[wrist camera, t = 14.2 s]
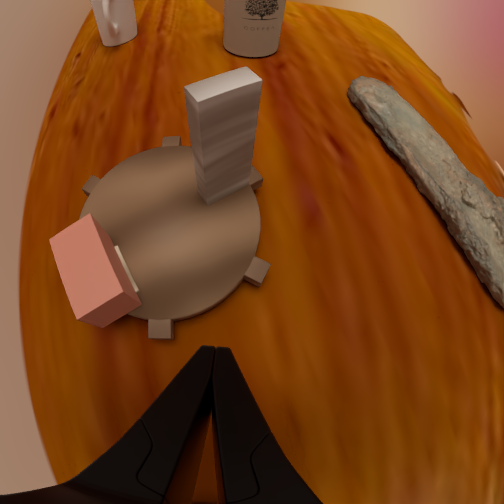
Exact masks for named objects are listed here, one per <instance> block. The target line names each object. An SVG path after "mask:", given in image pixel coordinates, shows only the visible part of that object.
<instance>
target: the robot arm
mask: <svg viewBox="0 0 504 504" xmlns="http://www.w3.org/2000/svg"><path fill="white" fill-rule="evenodd" d="M211 409H212V431H213V445H214V458H215V469H216V480H217V490H218V500H219V504H323V503H322V502H321V501H320V500H319V498H318V497H317V496H316V495H315V494H314V492H313V491H312V490H311V489H310V488H309V486H308V485H307V484H306V483H305V481H304V480H303V479H302V478H301V476H300V475H299V474H298V473H297V471H296V470H295V469H294V467H293V466H292V465H291V463H290V462H289V460H288V459H287V458H286V456H285V454H284V453H283V451H282V449H281V448H280V446H279V444H278V443H277V441H276V439H275V437H274V435H273V433H272V432H271V430H270V428H269V426H268V424H267V422H266V420H265V418H264V416H263V414H262V413H261V411H260V409H259V407H258V405H257V403H256V401H255V399H254V397H253V395H252V393H251V391H250V389H249V387H248V385H247V383H246V381H245V378H244V376H243V374H242V372H241V370H240V368H239V366H238V364H237V362H236V360H235V358H234V355H233V353H232V351H231V349H230V348H228V347H216V348H215V347H214V346H207V345H202V346H201V347H200V348H199V349H198V350H197V351H196V353H195V354H194V355H193V356H192V357H191V359H190V360H189V361H188V362H187V363H186V364H185V366H184V367H183V368H182V369H181V370H180V372H179V373H178V374H177V375H176V376H175V377H174V379H173V380H172V381H171V382H170V383H169V384H168V386H167V387H166V388H165V389H164V390H163V391H162V393H161V394H160V395H159V396H158V397H157V398H156V400H155V401H154V402H153V403H152V404H151V405H150V407H149V408H148V409H147V410H146V411H145V412H144V413H143V415H142V416H141V417H140V418H141V419H138V420H137V421H136V422H135V424H134V425H133V426H132V427H131V428H130V429H129V430H128V431H127V432H126V433H125V434H124V435H123V437H122V438H121V439H120V440H118V441H117V442H116V443H115V444H114V445H113V446H112V447H111V448H110V449H108V450H107V451H106V452H105V453H104V454H103V455H101V456H100V457H99V458H98V459H96V460H95V461H94V462H93V463H92V464H90V465H89V466H88V467H87V468H85V469H84V470H83V471H82V472H80V473H79V474H78V475H77V476H75V477H74V478H72V479H70V480H69V481H66V482H64V483H62V484H59V485H55V486H51V487H46V488H42V489H37V490H32V491H27V492H20V493H14V494H7V495H0V504H191V501H192V497H193V492H194V488H195V483H196V479H197V475H198V470H199V466H200V461H201V457H202V452H203V448H204V443H205V439H206V435H207V430H208V426H209V421H210V416H211Z"/></svg>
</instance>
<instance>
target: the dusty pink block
mask: <svg viewBox="0 0 504 504" xmlns="http://www.w3.org/2000/svg"><path fill="white" fill-rule="evenodd" d="M50 243H51V247H52V250H53V254H54V257H55V260H56V263H57V267H58V270H59V273H60V276H61V279H62V282H63V284H64V287H65V290H66V293H67V295H68V298H69V301H70V303H71V306H72V309H73V311H74V314H75V316H76V318H77V320H79V321H82V322H85V323H88V324H92V325H95V326H98V327H101V328H104V327H105V326H107V325H109V324H110V323H112V322H114V321H115V320H117V319H119V318H120V317H122V316H124V315H125V314H127V313H129V312H130V311H132V310H134V309H135V308H137V307H139V306H141V305H142V303H141V301H140V299H139V297H138V295H137V293H136V291H135V289H134V287H133V285H132V283H131V281H130V279H129V277H128V275H127V273H126V271H125V269H124V267H123V265H122V263H121V260H120V258H119V256H118V254H117V252H116V249H115V247H114V245H113V243H112V240H111V238H110V236H109V235H108V234H107V233H106V232H105V230H104V229H103V228H102V227H101V226H100V224H99V223H98V222H97V221H96V220H95V218H94V217H93V216H92V215H91V214H90V213H89V214H88V215H86V216H84V217H83V218H81V219H80V220H78V221H77V222H75V223H73V224H72V225H70V226H69V227H67V228H66V229H64V230H63V231H61V232H60V233H58V234H57V235H55V236H54V237H52V238H51V239H50Z"/></svg>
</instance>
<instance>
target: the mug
mask: <svg viewBox="0 0 504 504" xmlns="http://www.w3.org/2000/svg"><path fill="white" fill-rule="evenodd" d="M91 4H92V8H93V11H94V15H95V19H96V22H97V26H98V29H99V33H100V36H101V39H102V42H103V45H105V46H117V45H120V44H123V43H126V42H128V41H130V40H131V39H133V38H134V37H135V36H136V35H137V24H136V17H135V10H134V2H133V0H91Z"/></svg>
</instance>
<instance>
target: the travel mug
mask: <svg viewBox="0 0 504 504" xmlns="http://www.w3.org/2000/svg"><path fill="white" fill-rule="evenodd" d="M285 3H286V0H225V6H224V7H225V8H224V38H223V45H224V47H225V49H226V50H228V51H229V52H231V53H234V54H236V55H240V56H246V57H262V56H267V55H271V54H273V53H275V52H276V51H277V49H278V44H279V38H280V32H281V27H282V21H283V15H284V9H285Z"/></svg>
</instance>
